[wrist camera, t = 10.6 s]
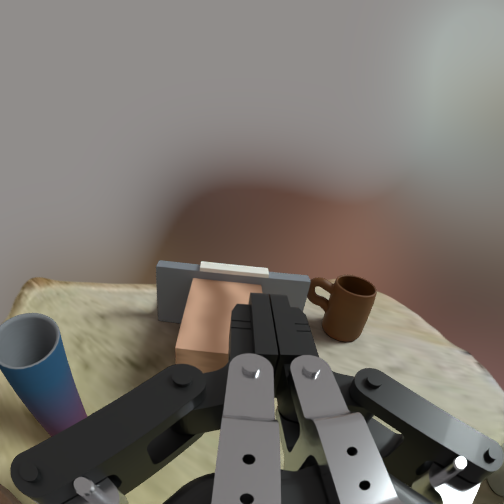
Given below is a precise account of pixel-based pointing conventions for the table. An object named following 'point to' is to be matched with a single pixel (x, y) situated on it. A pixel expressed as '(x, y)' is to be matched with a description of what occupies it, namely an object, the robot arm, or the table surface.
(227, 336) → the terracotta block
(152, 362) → the table surface
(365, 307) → the mug
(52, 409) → the cup
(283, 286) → the rail
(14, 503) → the wooden block
